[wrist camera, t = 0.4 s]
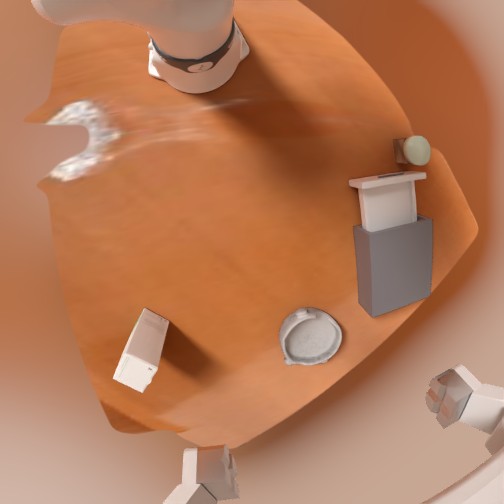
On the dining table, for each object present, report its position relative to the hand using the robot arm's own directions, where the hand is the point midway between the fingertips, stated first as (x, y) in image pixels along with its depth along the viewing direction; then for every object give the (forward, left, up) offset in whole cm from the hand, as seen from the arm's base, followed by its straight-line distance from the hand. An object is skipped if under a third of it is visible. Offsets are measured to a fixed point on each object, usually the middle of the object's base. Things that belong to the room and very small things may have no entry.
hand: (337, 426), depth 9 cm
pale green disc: (-6, +36, -42) cm, 56 cm away
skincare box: (+20, -25, -46) cm, 56 cm away
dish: (+30, +8, -47) cm, 56 cm away
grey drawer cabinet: (+17, +29, -46) cm, 57 cm away
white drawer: (+7, +29, -46) cm, 55 cm away
